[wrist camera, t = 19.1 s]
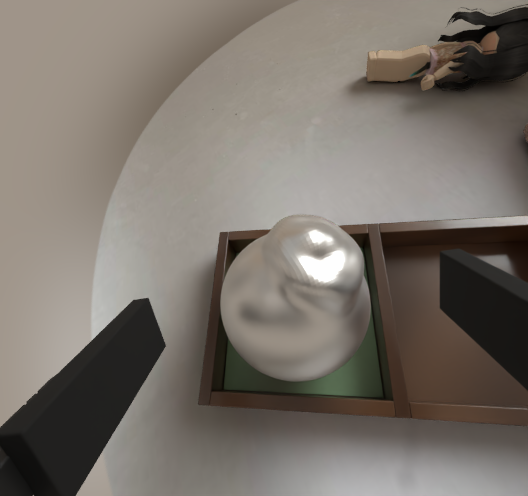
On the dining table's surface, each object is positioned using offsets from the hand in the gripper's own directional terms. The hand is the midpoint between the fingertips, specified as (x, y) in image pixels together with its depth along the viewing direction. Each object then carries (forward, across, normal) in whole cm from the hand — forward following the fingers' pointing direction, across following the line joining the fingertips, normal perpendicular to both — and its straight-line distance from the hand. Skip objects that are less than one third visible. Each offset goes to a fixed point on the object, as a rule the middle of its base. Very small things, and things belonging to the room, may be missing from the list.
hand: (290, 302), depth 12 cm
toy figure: (+24, +19, +11) cm, 33 cm away
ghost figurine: (+7, 0, -5) cm, 9 cm away
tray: (+7, +6, -6) cm, 11 cm away
